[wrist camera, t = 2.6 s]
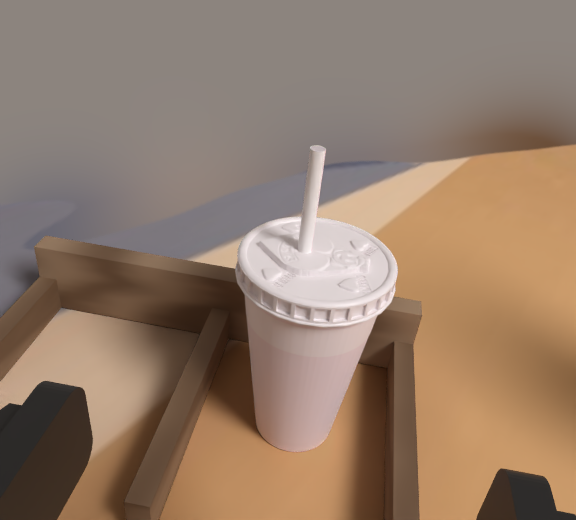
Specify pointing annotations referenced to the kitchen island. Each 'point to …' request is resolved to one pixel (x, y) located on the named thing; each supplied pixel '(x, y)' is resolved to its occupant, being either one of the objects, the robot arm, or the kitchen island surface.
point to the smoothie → (309, 314)
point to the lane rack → (202, 350)
